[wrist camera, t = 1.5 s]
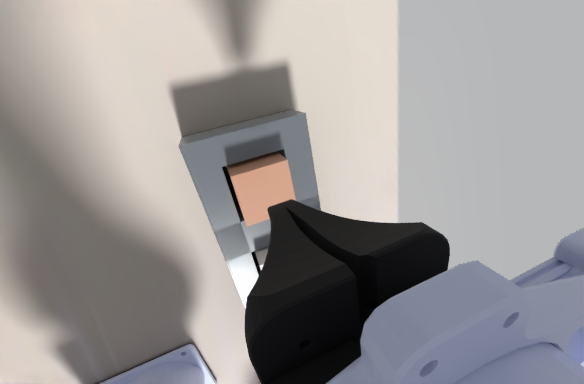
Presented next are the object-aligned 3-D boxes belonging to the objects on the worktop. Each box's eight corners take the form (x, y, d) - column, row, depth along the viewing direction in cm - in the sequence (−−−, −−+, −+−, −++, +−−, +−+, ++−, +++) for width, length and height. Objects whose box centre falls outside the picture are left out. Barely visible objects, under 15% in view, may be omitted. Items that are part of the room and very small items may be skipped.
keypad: (260, 335, 26) (267, 362, 24) (181, 136, 17) (178, 146, 14) (326, 304, 28) (339, 326, 25) (290, 109, 18) (305, 113, 16)
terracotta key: (240, 207, 18) (247, 226, 16) (225, 163, 17) (230, 176, 14) (284, 192, 19) (297, 208, 17) (274, 149, 18) (287, 159, 15)
